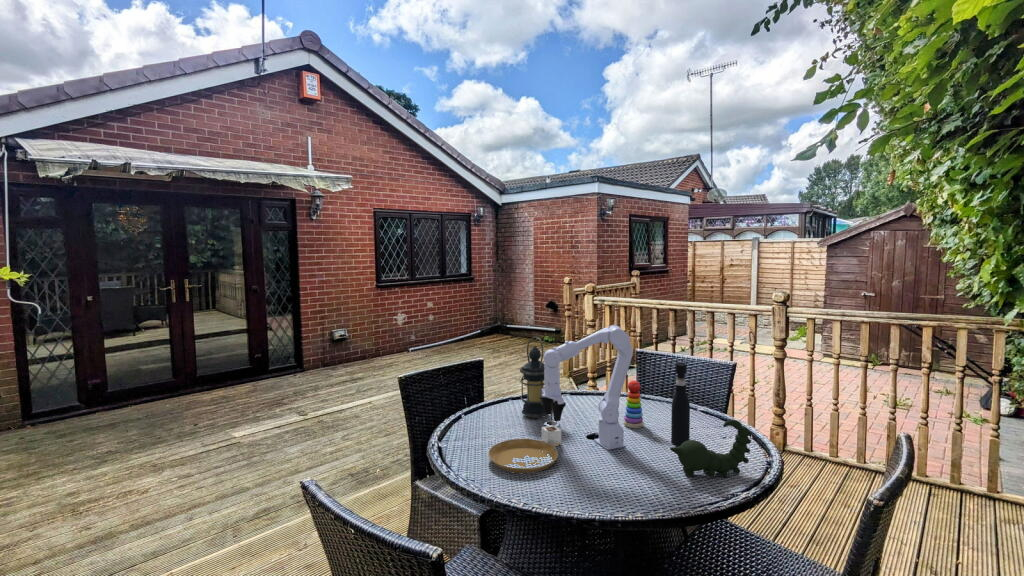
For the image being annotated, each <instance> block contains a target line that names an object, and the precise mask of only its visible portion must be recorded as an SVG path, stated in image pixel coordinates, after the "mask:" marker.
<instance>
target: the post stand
mask: <svg viewBox="0 0 1024 576" xmlns="http://www.w3.org/2000/svg"><path fill="white" fill-rule="evenodd" d="M552 430H553V429H549V431H552ZM559 445H560V446H561V443H559V444H554V445H552V446H554V447H555V448H557V447H556V446H558V447H560V446H559Z"/></svg>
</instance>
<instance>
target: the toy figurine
mask: <svg viewBox="0 0 1024 576" xmlns="http://www.w3.org/2000/svg"><path fill="white" fill-rule="evenodd" d="M728 426H729V427H733V428H734V429H735V430H736V431H737V434H736V435H735V437H734V440H735V441H734V442H733V443H732V447H731V449H730V450H729V452H727V453H721V452H720V453H719V452H718V453H717V452H715V450H710V449H708V448H707V447H706V445H705V444H704V443H702V442H700V441H698V440H693V439H690V440H688V441H685V442H684V443H682V444H681V445H680V447H678V446H674V447H670V448H669V450H670V451H672V452H673V453H674V454H676V455H677V458H678V461H679V462H680V464H681V465H682V466H683V467H682V472H684V474H685V475H686V476H688V477H692V476H694V475H695V472H700V471H704V472H706V475H707V476H708V477H710V478H714V477H715V476H716V473H717V474H720V475H721V477H722V478H724V479H727V478H728V476H729V471H733V474H736V475H738V474H740V472H741V469H740V468H739V464H741V463H742V462H743V463H744V464H748V463H749V461H750V460H749V458H748V457H746V455H745V454H750V452H751V448H748V446H747V445H748V444H751V443H752V439H750V438H749V436H752V431H750V430H749V428H748V427H746V426H743V425H742V423H741V422H740V421H739V420H736V419H728V420H727V421H725V422H724V423H723V425H722V427H723V428H726V427H728Z"/></svg>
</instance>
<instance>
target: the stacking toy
mask: <svg viewBox="0 0 1024 576" xmlns="http://www.w3.org/2000/svg"><path fill="white" fill-rule="evenodd" d="M627 389H628V393H627V398H626V403H625V404H626V406H625V412H624V414H625V415H624V418H623V420H624V421H623V425H624V426H625V427H627V428H628V429H629V428H630V429H641V428H643V427H644V425H645V423H644V421H643V420H644V417H643V415H644V413H643V412H642V411H643V408H642V402H641V398H640V397H641V393H640V390H641V384H640V382H639V381H637V380H631V381H628V383H627Z"/></svg>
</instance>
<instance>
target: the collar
mask: <svg viewBox="0 0 1024 576" xmlns="http://www.w3.org/2000/svg"><path fill="white" fill-rule="evenodd" d="M549 429H553V430H552V431H549ZM541 441H543V442H546V443H549V444H551V445H554V444H559V443H560V444H562V430H561V428H559V426H557V427H556V426H555V425H552V426H542V427H541Z"/></svg>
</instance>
